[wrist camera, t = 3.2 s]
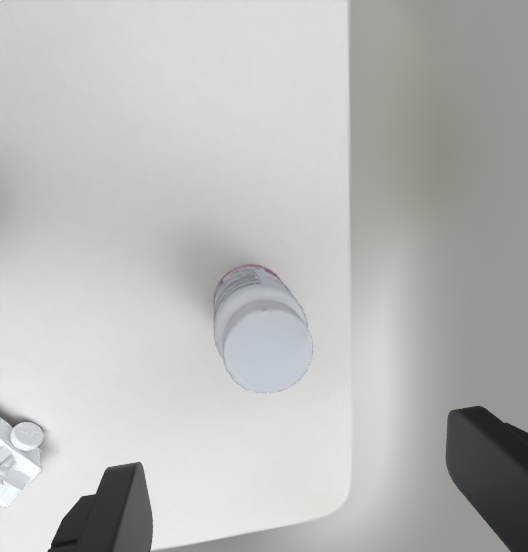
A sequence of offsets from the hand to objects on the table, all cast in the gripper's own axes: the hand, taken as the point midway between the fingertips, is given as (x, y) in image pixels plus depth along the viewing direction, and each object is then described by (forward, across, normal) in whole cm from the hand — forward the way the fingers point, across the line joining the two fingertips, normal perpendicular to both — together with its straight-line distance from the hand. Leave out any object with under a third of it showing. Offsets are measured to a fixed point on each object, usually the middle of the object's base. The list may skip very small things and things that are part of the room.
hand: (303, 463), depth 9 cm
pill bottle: (+15, 0, 0) cm, 15 cm away
